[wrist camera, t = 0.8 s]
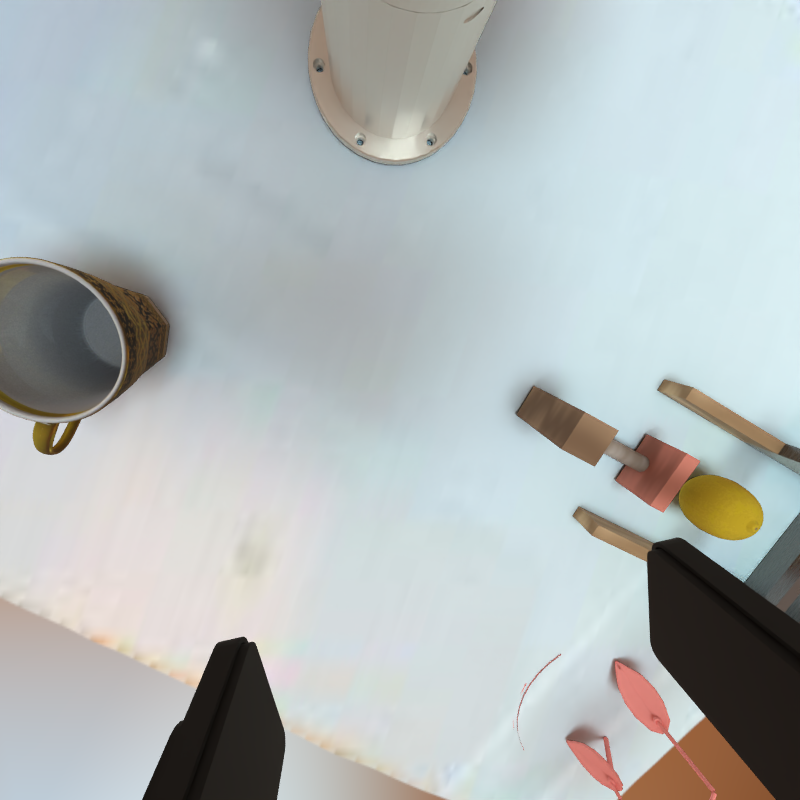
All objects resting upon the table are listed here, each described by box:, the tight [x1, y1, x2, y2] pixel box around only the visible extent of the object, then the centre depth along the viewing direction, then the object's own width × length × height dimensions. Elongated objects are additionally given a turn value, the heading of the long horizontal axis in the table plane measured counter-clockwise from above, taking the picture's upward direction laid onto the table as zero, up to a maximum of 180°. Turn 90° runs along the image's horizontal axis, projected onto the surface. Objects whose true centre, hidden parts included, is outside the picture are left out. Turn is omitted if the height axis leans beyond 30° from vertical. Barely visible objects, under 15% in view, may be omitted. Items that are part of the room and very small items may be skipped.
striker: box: [517, 386, 700, 512], centre depth 36 cm, size 6×15×9 cm, turn 62°
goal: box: [744, 442, 800, 623], centre depth 40 cm, size 16×13×11 cm
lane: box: [573, 380, 785, 562], centre depth 41 cm, size 16×12×4 cm
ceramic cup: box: [0, 257, 169, 455], centre depth 30 cm, size 13×10×10 cm
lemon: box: [679, 475, 763, 540], centre depth 39 cm, size 6×6×8 cm
